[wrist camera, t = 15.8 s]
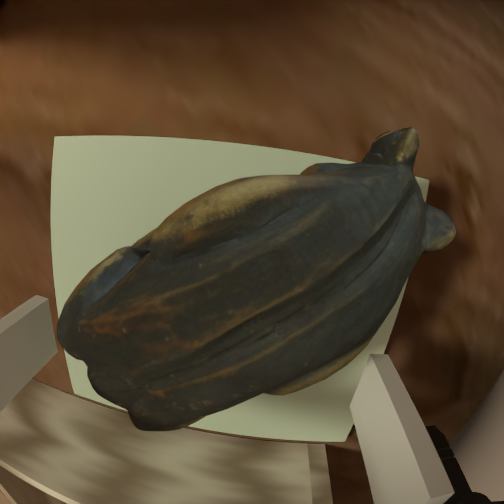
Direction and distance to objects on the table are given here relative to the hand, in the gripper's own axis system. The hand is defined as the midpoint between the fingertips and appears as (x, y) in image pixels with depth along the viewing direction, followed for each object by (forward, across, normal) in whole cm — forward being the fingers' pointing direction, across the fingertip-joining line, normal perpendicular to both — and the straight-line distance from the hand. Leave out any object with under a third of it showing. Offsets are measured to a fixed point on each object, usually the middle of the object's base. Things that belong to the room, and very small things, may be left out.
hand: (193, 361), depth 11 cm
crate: (+4, -4, -20) cm, 21 cm away
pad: (+4, 0, 0) cm, 4 cm away
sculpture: (+5, +2, 0) cm, 5 cm away
